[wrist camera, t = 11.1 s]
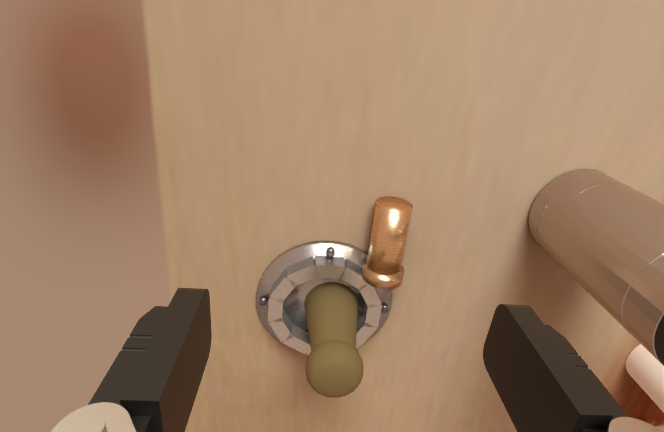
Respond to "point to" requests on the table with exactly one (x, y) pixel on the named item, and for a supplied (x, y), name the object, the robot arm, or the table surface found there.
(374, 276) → the pipe stub
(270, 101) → the table surface
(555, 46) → the table surface
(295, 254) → the flange seat
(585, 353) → the table surface
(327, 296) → the cork
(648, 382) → the beige rectangular tower
